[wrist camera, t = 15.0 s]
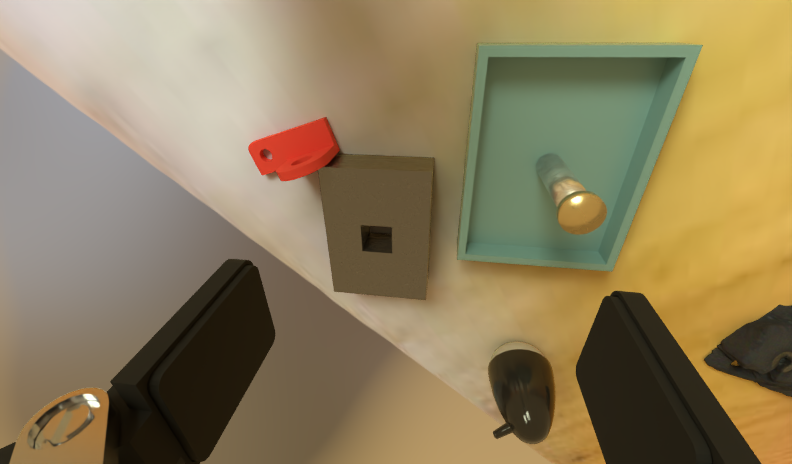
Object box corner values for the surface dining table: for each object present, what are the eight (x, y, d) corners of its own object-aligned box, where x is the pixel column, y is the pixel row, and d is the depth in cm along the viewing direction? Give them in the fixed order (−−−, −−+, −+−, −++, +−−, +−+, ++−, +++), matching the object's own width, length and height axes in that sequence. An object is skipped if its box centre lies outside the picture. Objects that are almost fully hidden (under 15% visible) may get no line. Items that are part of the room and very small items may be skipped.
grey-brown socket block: (329, 153, 46) (317, 166, 42) (434, 157, 45) (431, 171, 40) (343, 271, 57) (334, 291, 53) (428, 278, 55) (425, 299, 51)
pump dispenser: (477, 338, 60) (484, 423, 47) (539, 327, 57) (564, 416, 44) (493, 375, 65) (503, 462, 52) (551, 367, 61) (577, 458, 48)
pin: (535, 148, 41) (564, 194, 30) (570, 149, 41) (613, 196, 30) (528, 179, 43) (553, 233, 32) (562, 181, 43) (599, 236, 32)
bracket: (326, 116, 44) (303, 133, 37) (340, 150, 46) (320, 171, 39) (249, 142, 47) (215, 162, 41) (265, 172, 49) (236, 195, 43)
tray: (476, 43, 37) (479, 45, 34) (678, 42, 35) (702, 45, 31) (456, 243, 51) (457, 259, 47) (601, 254, 48) (612, 271, 45)
